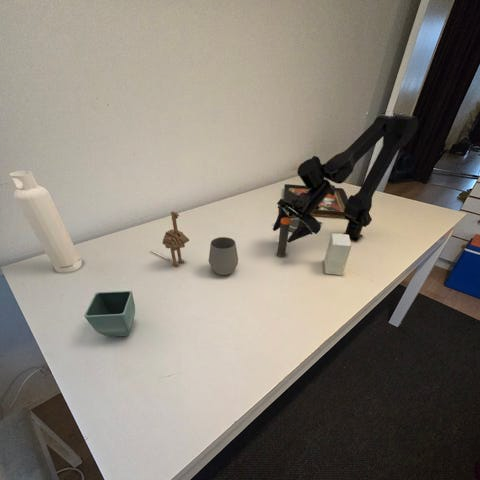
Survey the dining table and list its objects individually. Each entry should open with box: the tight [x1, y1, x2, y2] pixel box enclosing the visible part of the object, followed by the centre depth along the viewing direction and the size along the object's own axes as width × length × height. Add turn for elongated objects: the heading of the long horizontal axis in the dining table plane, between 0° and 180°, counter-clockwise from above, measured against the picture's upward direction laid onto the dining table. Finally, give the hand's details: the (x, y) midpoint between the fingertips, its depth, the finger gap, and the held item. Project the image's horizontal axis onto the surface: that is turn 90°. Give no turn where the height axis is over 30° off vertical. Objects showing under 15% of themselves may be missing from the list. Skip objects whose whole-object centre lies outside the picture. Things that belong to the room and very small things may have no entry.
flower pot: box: [83, 290, 136, 338], centre depth 64 cm, size 9×9×9 cm
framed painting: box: [283, 183, 349, 219], centre depth 129 cm, size 38×35×3 cm
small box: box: [323, 232, 352, 276], centre depth 85 cm, size 8×6×10 cm
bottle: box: [9, 169, 83, 274], centre depth 77 cm, size 8×8×28 cm
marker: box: [276, 218, 291, 258], centre depth 90 cm, size 3×3×13 cm
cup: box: [208, 236, 239, 276], centre depth 83 cm, size 10×9×10 cm
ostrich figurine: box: [151, 211, 190, 268], centre depth 85 cm, size 17×7×18 cm, turn 54°
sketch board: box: [273, 215, 322, 233], centre depth 112 cm, size 16×14×1 cm
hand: (280, 236), depth 89 cm, fingers open, 9 cm apart
